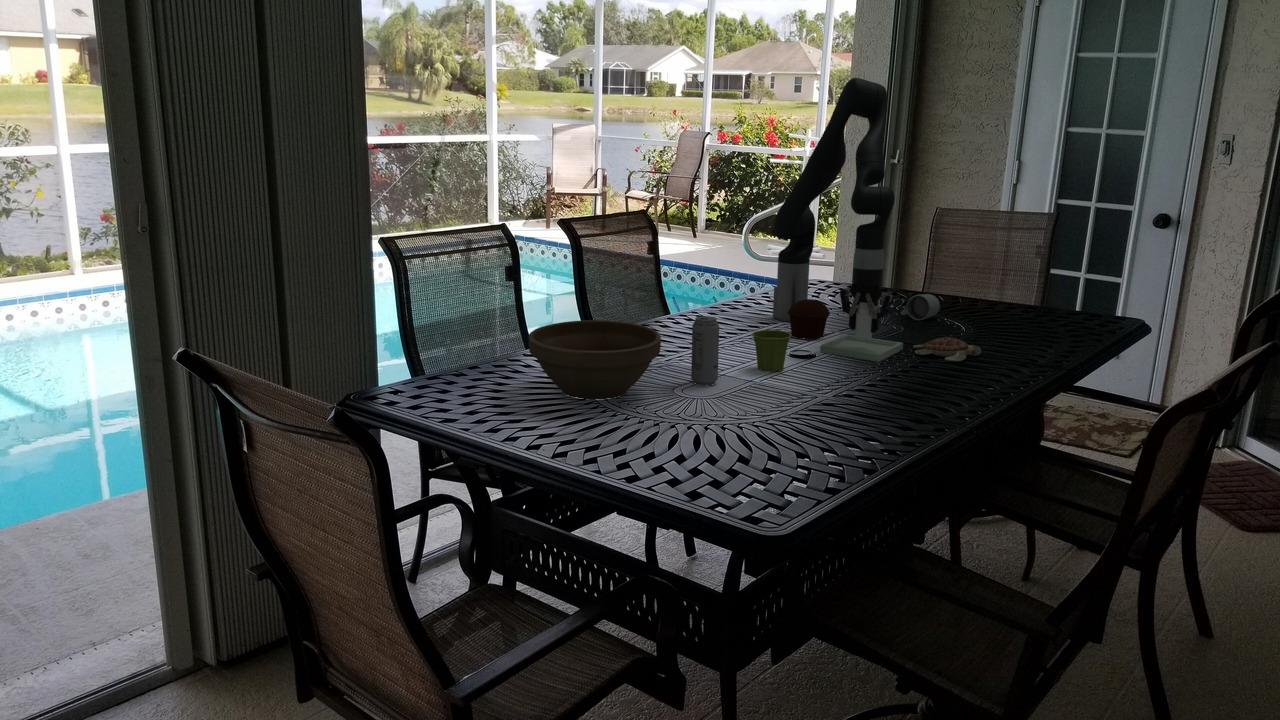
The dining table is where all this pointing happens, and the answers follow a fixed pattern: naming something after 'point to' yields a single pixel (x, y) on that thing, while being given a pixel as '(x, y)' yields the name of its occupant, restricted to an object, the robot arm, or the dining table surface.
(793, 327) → the muffin
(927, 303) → the ceramic mug
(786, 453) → the dining table surface
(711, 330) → the energy drink can
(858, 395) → the dining table surface
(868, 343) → the tray
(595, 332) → the flower pot
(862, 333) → the pepper shaker
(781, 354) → the plant pot
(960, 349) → the decorative turtle
